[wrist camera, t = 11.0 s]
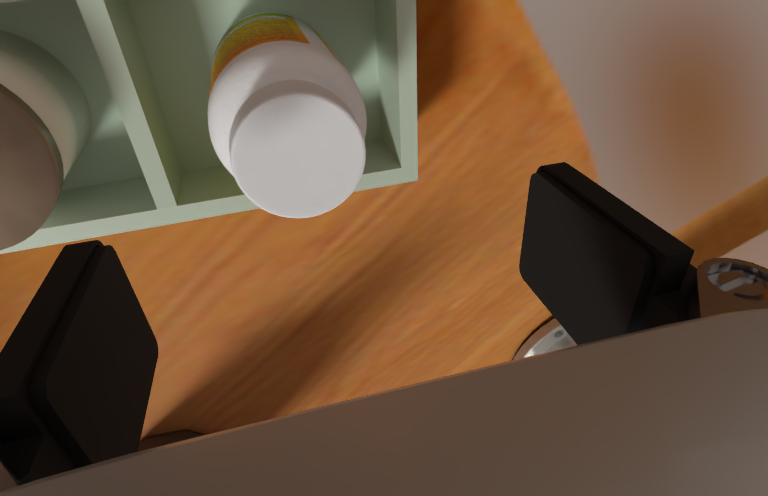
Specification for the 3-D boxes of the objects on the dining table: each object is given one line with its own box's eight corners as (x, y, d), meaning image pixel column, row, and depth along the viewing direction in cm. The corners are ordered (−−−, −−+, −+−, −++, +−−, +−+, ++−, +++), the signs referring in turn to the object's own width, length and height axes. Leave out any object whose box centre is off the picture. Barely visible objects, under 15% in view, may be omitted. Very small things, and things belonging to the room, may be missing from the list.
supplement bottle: (193, 101, 21) (173, 204, 13) (241, -17, 19) (249, 24, 11) (302, 149, 24) (337, 259, 16) (353, 50, 22) (422, 121, 14)
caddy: (382, -62, 20) (415, -59, 17) (391, 145, 26) (418, 180, 22) (-242, -17, 16) (-374, 0, 13) (-70, 218, 22) (-128, 276, 18)
